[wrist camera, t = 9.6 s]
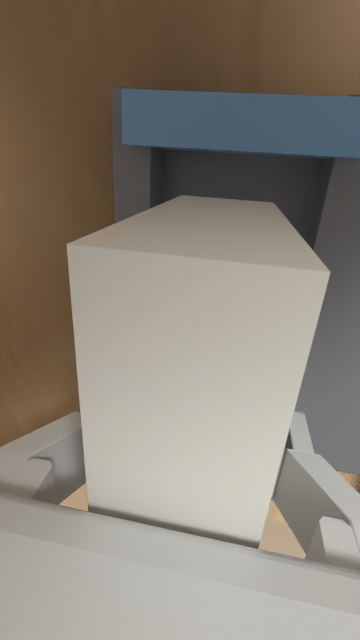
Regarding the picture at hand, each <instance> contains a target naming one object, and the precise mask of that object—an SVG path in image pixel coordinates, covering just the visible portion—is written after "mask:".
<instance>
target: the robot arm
mask: <svg viewBox="0 0 360 640" xmlns="http://www.w3.org/2000/svg"><path fill="white" fill-rule="evenodd" d="M84 483H86V474H85V461H84V449H83V437H82V425H81V413H80V412H78V411H74V412H72V413H70V414H68V415H66V416H64V417H62V418H60V419H58V420H56V421H53V422H51V423H49V424H47V425H45V426H43V427H41V428H39V429H37V430H35V431H33V432H31V433H29V434H26V435H24V436H22V437H20V438H18V439H16V440H14V441H12V442H10V443H8V444H6V445H4V446H2V447H0V640H360V494H359V493H358V492H357V491H356V490H355V489H354V488H353V487H352V486H351V485H350V484H349V483H348V482H347V481H346V480H345V479H344V478H343V477H342V476H341V475H340V474H339V473H338V472H337V471H336V470H335V469H334V468H333V467H332V466H331V465H330V464H329V463H328V462H327V461H326V460H325V459H324V458H323V457H322V456H321V455H319V454H315V453H314V449H313V445H312V441H311V437H310V433H309V429H308V425H307V421H306V417H305V413H304V412H303V411H296V410H294V414H293V417H292V421H291V425H290V429H289V433H288V436H287V440H286V444H285V448H284V452H283V456H282V459H281V463H280V467H279V471H278V475H277V478H276V482H275V486H274V490H273V494H272V498H273V499H274V502H275V504H276V505H277V507H278V509H279V510H280V512H281V514H282V515H283V517H284V518H285V520H286V522H287V523H288V525H289V527H290V528H291V530H292V531H293V533H294V535H295V536H296V538H297V540H298V542H299V543H300V545H301V547H302V548H303V550H304V551H305V553H306V557H305V559H301V558H296V557H292V556H287V555H283V554H278V553H274V552H269V551H264V550H260V549H256V548H251V547H247V546H242V545H238V544H233V543H229V542H224V541H220V540H215V539H210V538H206V537H201V536H197V535H192V534H188V533H183V532H179V531H174V530H170V529H165V528H161V527H156V526H151V525H147V524H142V523H138V522H133V521H129V520H124V519H120V518H115V517H111V516H106V515H102V514H97V513H92V512H88V511H83V510H79V509H74V508H69V507H65V506H60V505H58V504H59V503H61V502H62V501H63V500H64V499H66V498H67V497H68V496H70V495H71V494H72V493H73V492H74V491H76V490H77V489H78V488H79V487H80V486H82V485H83V484H84Z"/></svg>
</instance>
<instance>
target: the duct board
mask: <svg viewBox="0 0 360 640" xmlns="http://www.w3.org/2000/svg"><path fill="white" fill-rule="evenodd" d="M111 121H112V158H113V196H114V224H115V223H117V222H120V221H122V220H124V219H127V218H129V217H132V216H134V215H136V214H139V213H141V212H143V211H146V210H148V209H150V208H153V207H155V206H157V205H160V204H162V203H165V202H167V201H169V200H172V199H174V198H176V197H179V196H181V195H187V196H199V197H211V198H224V199H236V200H248V201H261V202H273V203H274V204H275V205H276V206H277V207H278V208H279V210H280V211H281V212H282V213H283V215H284V216H285V217H286V218H287V219H288V221H289V222H290V223H291V224H292V225H293V227H294V228H295V229H296V230H297V232H298V233H299V234H300V235H301V236H302V238H303V239H304V240H305V241H306V243H307V244H308V245H309V246H310V247H311V249H312V250H313V251H314V252H315V254H316V255H317V256H318V257H319V258H320V260H321V261H322V262H323V263H324V265H325V266H326V267H327V268H328V269H329V271H330V276H329V280H328V284H327V288H326V292H325V295H324V299H323V303H322V307H321V311H320V314H319V318H318V322H317V326H316V330H315V334H314V337H313V341H312V345H311V349H310V353H309V356H308V360H307V364H306V368H305V372H304V375H303V379H302V383H301V387H300V391H299V395H298V398H297V402H296V406H295V410H296V411H303V412H304V413H305V417H306V421H307V425H308V429H309V433H310V437H311V441H312V445H313V449H314V453H315V454H319V455H321V456H322V457H323V458H324V459H325V460H326V461H327V462H328V463H329V464H330V465H331V466H332V467H333V468H334V469H335V470H337V471H342V472H348V473H353V474H358V475H360V95H349V96H320V95H290V94H260V93H230V92H200V91H170V90H153V89H149V88H119V87H111ZM271 500H273V501H274V499H273V498H271Z"/></svg>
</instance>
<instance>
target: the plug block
mask: <svg viewBox="0 0 360 640" xmlns="http://www.w3.org/2000/svg"><path fill="white" fill-rule="evenodd" d="M67 256H68V268H69V280H70V293H71V305H72V317H73V329H74V341H75V353H76V365H77V377H78V389H79V401H80V413H81V425H82V437H83V449H84V461H85V474H86V486H87V496H88V497H87V498H88V510H89V512H92V513H97V514H102V515H106V516H111V517H115V518H120V519H124V520H129V521H133V522H138V523H142V524H147V525H151V526H156V527H161V528H165V529H170V530H174V531H179V532H183V533H188V534H192V535H197V536H201V537H206V538H210V539H215V540H220V541H224V542H229V543H233V544H238V545H242V546H247V547H251V548H256V549H258V547H259V543H260V539H261V535H262V532H263V528H264V524H265V520H266V517H267V513H268V509H269V505H270V501H271V498H272V494H273V490H274V486H275V482H276V478H277V475H278V471H279V467H280V463H281V459H282V456H283V452H284V448H285V444H286V440H287V436H288V433H289V429H290V425H291V421H292V417H293V414H294V410H295V406H296V402H297V398H298V395H299V391H300V387H301V383H302V379H303V375H304V372H305V368H306V364H307V360H308V356H309V353H310V349H311V345H312V341H313V337H314V334H315V330H316V326H317V322H318V318H319V314H320V311H321V307H322V303H323V299H324V295H325V292H326V288H327V284H328V280H329V276H330V271H329V269H328V268H327V267H326V266H325V265H324V263H323V262H322V261H321V260H320V258H319V257H318V256H317V255H316V254H315V252H314V251H313V250H312V249H311V247H310V246H309V245H308V244H307V243H306V241H305V240H304V239H303V238H302V236H301V235H300V234H299V233H298V232H297V230H296V229H295V228H294V227H293V225H292V224H291V223H290V222H289V221H288V219H287V218H286V217H285V216H284V215H283V213H282V212H281V211H280V210H279V208H278V207H277V206H276V205H275V204H274V203H273V202H261V201H248V200H236V199H224V198H211V197H199V196H187V195H181V196H179V197H176V198H174V199H172V200H169V201H167V202H165V203H162V204H160V205H157V206H155V207H153V208H150V209H148V210H146V211H143V212H141V213H139V214H136V215H134V216H132V217H129V218H127V219H124V220H122V221H120V222H117V223H115V224H113V225H110V226H108V227H106V228H103V229H101V230H99V231H96V232H94V233H91V234H89V235H87V236H84V237H82V238H80V239H77V240H75V241H73V242H70V243H68V244H67Z"/></svg>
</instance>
